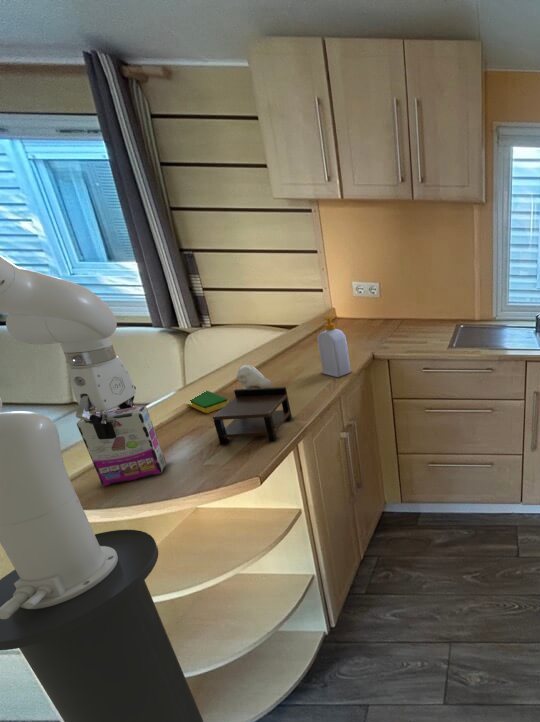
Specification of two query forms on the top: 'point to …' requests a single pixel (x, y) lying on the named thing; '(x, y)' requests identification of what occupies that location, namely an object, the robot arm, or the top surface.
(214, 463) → the top surface
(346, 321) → the top surface
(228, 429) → the rack
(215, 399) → the dish sponge
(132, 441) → the candy bar box
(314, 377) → the top surface
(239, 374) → the white rounded lump
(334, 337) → the soap bottle
